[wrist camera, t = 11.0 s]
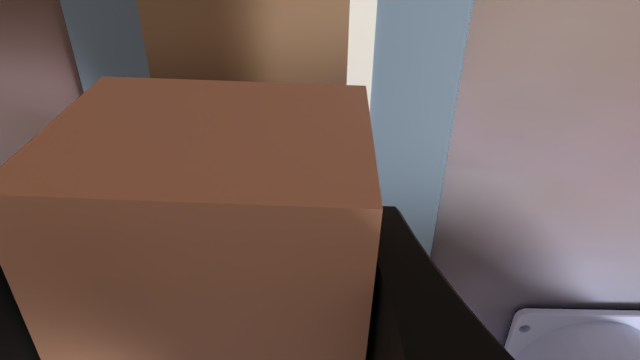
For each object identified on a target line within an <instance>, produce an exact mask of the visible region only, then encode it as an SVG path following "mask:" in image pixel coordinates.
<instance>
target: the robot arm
mask: <svg viewBox="0 0 640 360" xmlns="http://www.w3.org/2000/svg"><path fill="white" fill-rule="evenodd" d="M382 207H383V213H382V222H381V230H380V239H379V247H378V256H377V265H376V273H375V282H374V290H373V299H372V308H371V316H370V325H369V333H368V342H367V351H366V359H365V360H640V311H636V310H585V309H534V308H525V309H521V310H519V311H518V312H516V314H515V315H514V318H513V321H512V324H511V327H510V331H509V334H508V337H507V340H506V343H505V346H504V347H503V346H502V345H501V344H500V343H499V342H498V341H497V340H496V338H495V337H494V336H493V335H492V334H491V333H490V332H489V331H488V330H487V328H486V327H485V326H484V325H483V324H482V323H481V321H480V320H479V319H478V318H477V317H476V316H475V314H474V313H473V312H472V311H471V310H470V309H469V307H468V306H467V305H466V304H465V303H464V301H463V300H462V299H461V298H460V296H459V295H458V294H457V293H456V291H455V290H454V289H453V288H452V286H451V285H450V284H449V282H448V281H447V280H446V278H445V277H444V276H443V274H442V273H441V272H440V270H439V269H438V268H437V266H436V265H435V264H434V262H433V261H432V260H431V258H430V257H429V255H428V254H427V252H426V251H425V250H424V248H423V247H422V245H421V244H420V242H419V241H418V239H417V238H416V236H415V235H414V233H413V232H412V230H411V228H410V227H409V225H408V224H407V222H406V220H405V219H404V217H403V215H402V214H401V212H400V211H399V210H398V209H397V208H396V207H395V206H382ZM0 360H41V359H40V357H39V354H38V352H37V349H36V347H35V345H34V342H33V340H32V338H31V335H30V333H29V331H28V328H27V326H26V324H25V321H24V319H23V317H22V314H21V312H20V310H19V307H18V305H17V303H16V300H15V298H14V296H13V293H12V291H11V289H10V286H9V284H8V281H7V279H6V277H5V274H4V272H3V270H2V267H1V265H0Z"/></svg>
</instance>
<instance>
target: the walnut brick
mask: <svg viewBox="0 0 640 360" xmlns="http://www.w3.org/2000/svg"><path fill="white" fill-rule="evenodd" d="M136 1H137V7H138V12H139V18H140V23H141V29H142V34H143V40H144V45H145V51H146V56H147V62H148V67H149V73H150V78H162V79H191V80H219V81H248V82H276V83H305V84H333V85H347V61H348V36H349V11H350V0H136Z"/></svg>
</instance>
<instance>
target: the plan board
mask: <svg viewBox="0 0 640 360" xmlns="http://www.w3.org/2000/svg"><path fill="white" fill-rule="evenodd" d="M473 1H474V0H350V11H349V36H348V61H347V85H361V86H366V90H367V97H368V104H369V112H370V119H371V126H372V134H373V141H374V148H375V156H376V163H377V170H378V177H379V185H380V192H381V199H382V206H395V207H396V208H397V209H398V210H399V211H400V212H401V214H402V215H403V217H404V219H405V220H406V222H407V224H408V225H409V227H410V228H411V230H412V232H413V233H414V235H415V236H416V238H417V239H418V241H419V242H420V244H421V245H422V247H423V248H424V250H425V251H426V252H427V254H428V255H429V257H430V255H431V250H432V244H433V238H434V232H435V226H436V220H437V214H438V208H439V202H440V196H441V190H442V184H443V179H444V173H445V167H446V161H447V155H448V149H449V143H450V137H451V131H452V125H453V119H454V114H455V108H456V102H457V96H458V90H459V84H460V78H461V72H462V66H463V60H464V54H465V48H466V43H467V37H468V31H469V25H470V19H471V13H472V7H473ZM60 4H61V8H62V11H63V15H64V19H65V23H66V27H67V31H68V34H69V38H70V42H71V46H72V50H73V53H74V57H75V61H76V65H77V69H78V73H79V76H80V80H81V84H82V88H83V92H85V91H87V90H88V89H89V88H90V87H91V86H92V85H93V84H94V83H96V82H97V81H98V80H99V79H100V78H101V77H102V76H106V77H134V78H150V73H149V67H148V62H147V56H146V51H145V45H144V40H143V34H142V29H141V23H140V18H139V12H138V7H137V1H136V0H60Z"/></svg>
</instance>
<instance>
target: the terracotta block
mask: <svg viewBox="0 0 640 360" xmlns="http://www.w3.org/2000/svg"><path fill="white" fill-rule="evenodd" d="M382 213H383V207H382V199H381V192H380V185H379V177H378V170H377V163H376V156H375V148H374V141H373V134H372V126H371V119H370V112H369V104H368V97H367V90H366V86H361V85H333V84H305V83H276V82H248V81H219V80H191V79H162V78H134V77H106V76H102V77H101V78H100V79H99V80H98V81H97V82H96V83H94V84H93V85H92V86H91V87H90V88H89V89H88V90H87V91H85V92H84V93H83V94H82V95H81V96H80V97H79V98H78V99H77V100H75V101H74V102H73V103H72V104H71V105H70V106H69V107H68V108H66V109H65V110H64V111H63V112H62V113H61V114H60V115H59V116H57V117H56V118H55V119H54V120H53V121H52V122H51V123H50V124H48V125H47V126H46V127H45V128H44V129H43V130H42V131H41V132H39V133H38V134H37V135H36V136H35V137H34V138H33V139H32V140H30V141H29V142H28V143H27V144H26V145H25V146H24V147H23V148H21V149H20V150H19V151H18V152H17V153H16V154H15V155H14V156H12V157H11V158H10V159H9V160H8V161H7V162H6V163H5V164H3V165H2V166H1V167H0V265H1V267H2V270H3V272H4V274H5V277H6V279H7V281H8V284H9V286H10V289H11V291H12V293H13V296H14V298H15V300H16V303H17V305H18V307H19V310H20V312H21V314H22V317H23V319H24V321H25V324H26V326H27V328H28V331H29V333H30V335H31V338H32V340H33V342H34V345H35V347H36V349H37V352H38V354H39V357H40V359H41V360H365V359H366V351H367V342H368V333H369V325H370V316H371V308H372V299H373V290H374V282H375V273H376V265H377V256H378V247H379V239H380V230H381V222H382Z"/></svg>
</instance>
